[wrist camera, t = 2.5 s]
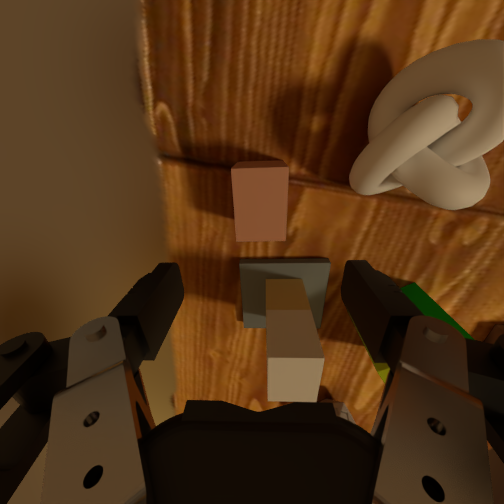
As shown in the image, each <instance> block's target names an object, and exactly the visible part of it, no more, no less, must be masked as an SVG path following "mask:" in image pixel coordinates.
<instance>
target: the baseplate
mask: <svg viewBox="0 0 504 504" xmlns="http://www.w3.org/2000/svg"><path fill="white" fill-rule="evenodd" d="M330 264H331V263H330V261H329V259H328V258H311V259H240V262H239V267H240V280H241V294H242V307H243V321H244V328H266V279H302V280H303V283H304V287H305V290H306V294H307V298H308V301H309V305H310V308H311V312H312V315H313V319H314V322H315V326H316V328H320V326H321V320H322V314H323V308H324V301H325V295H326V289H327V283H328V276H329V270H330Z"/></svg>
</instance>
